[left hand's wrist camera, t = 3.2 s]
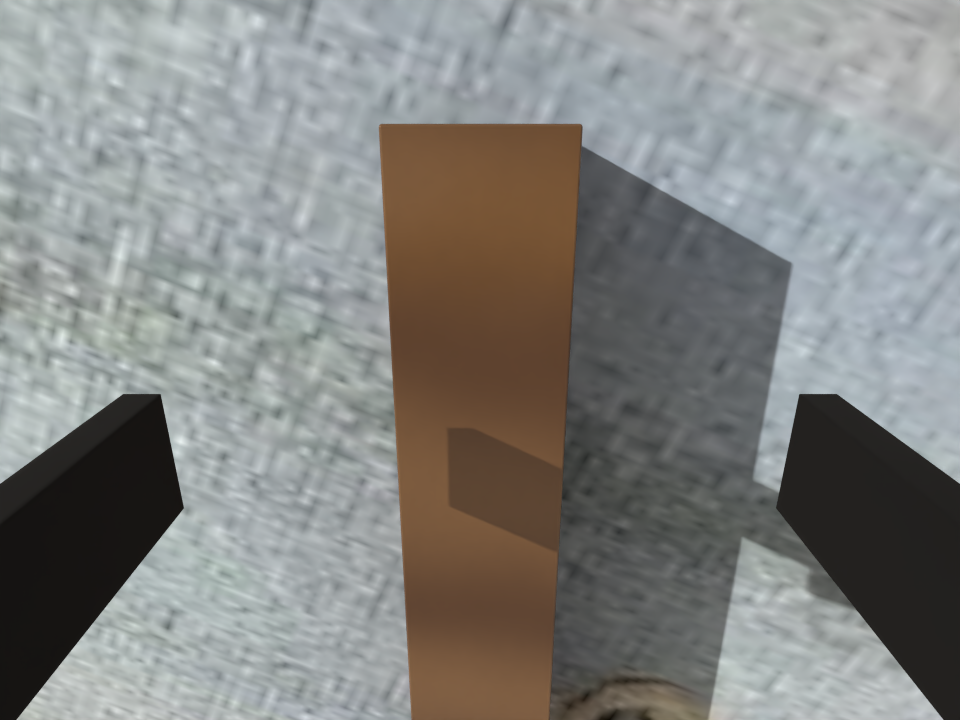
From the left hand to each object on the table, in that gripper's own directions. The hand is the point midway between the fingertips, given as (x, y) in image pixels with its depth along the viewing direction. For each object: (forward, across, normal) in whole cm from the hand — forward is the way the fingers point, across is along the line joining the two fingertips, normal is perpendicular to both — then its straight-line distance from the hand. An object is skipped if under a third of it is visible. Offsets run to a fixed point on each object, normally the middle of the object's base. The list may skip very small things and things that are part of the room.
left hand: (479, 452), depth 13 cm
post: (+12, 0, -28) cm, 30 cm away
